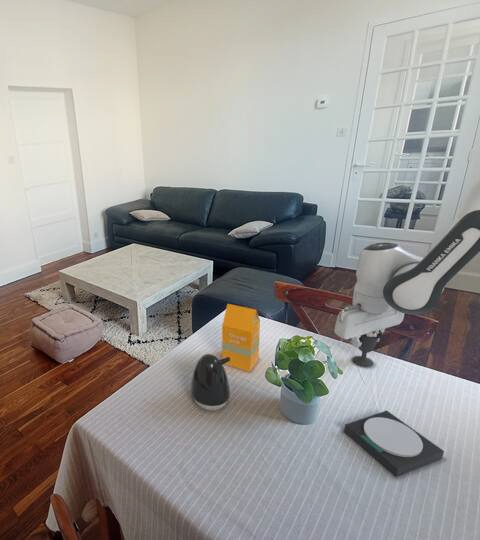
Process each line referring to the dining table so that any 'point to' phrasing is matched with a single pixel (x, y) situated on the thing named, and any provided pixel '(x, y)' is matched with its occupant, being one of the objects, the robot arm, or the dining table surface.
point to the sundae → (367, 347)
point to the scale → (393, 443)
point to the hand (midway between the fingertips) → (365, 343)
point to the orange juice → (241, 336)
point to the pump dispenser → (210, 383)
